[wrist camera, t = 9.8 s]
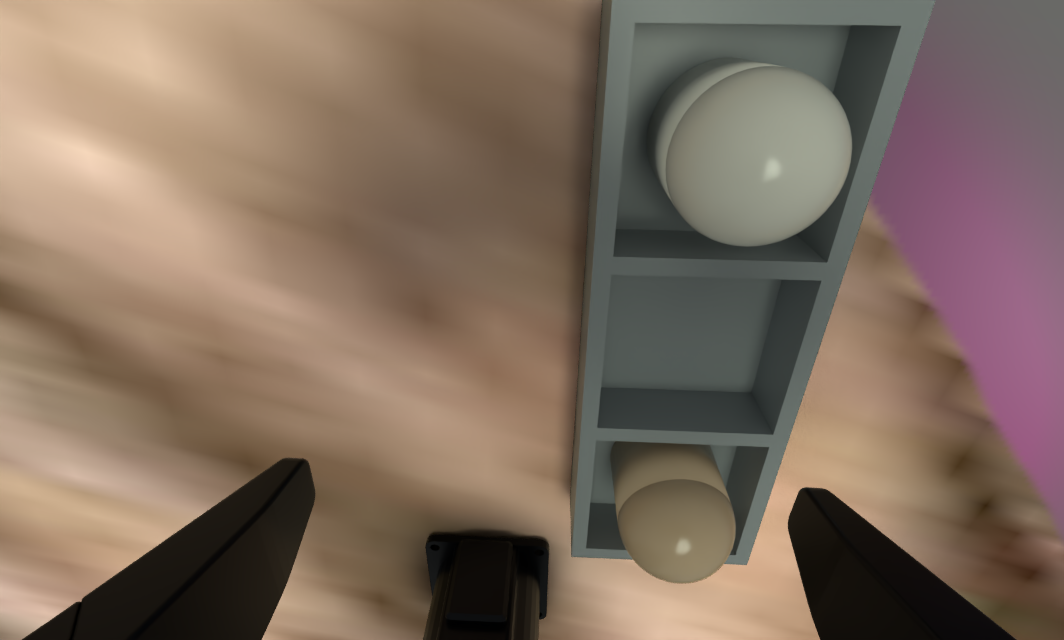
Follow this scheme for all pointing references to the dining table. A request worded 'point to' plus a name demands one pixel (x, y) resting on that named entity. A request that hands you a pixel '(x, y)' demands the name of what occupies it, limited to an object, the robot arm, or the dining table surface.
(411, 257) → the dining table surface
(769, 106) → the cream egg
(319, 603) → the dining table surface
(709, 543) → the brown egg
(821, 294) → the grey long rectangular tray
